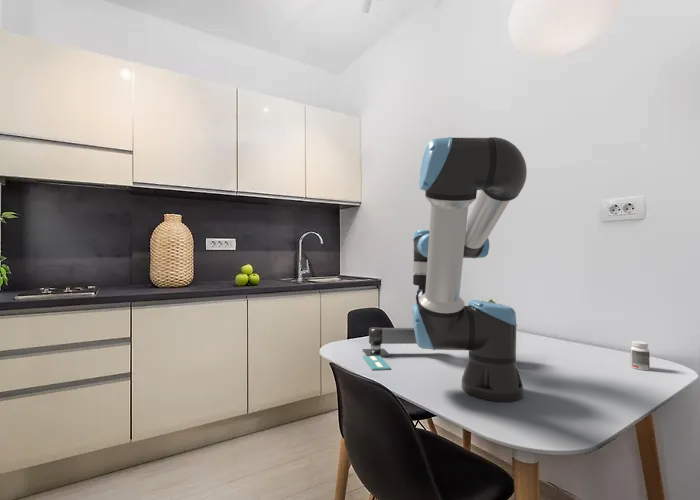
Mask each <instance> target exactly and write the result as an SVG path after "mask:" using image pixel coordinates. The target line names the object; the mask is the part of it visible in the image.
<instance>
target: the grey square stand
mask: <svg viewBox="0 0 700 500" xmlns="http://www.w3.org/2000/svg"><path fill="white" fill-rule="evenodd" d="M362 352H364V353H365V354H364V353H363V354H364V356H381V357H382V358H388V357H389V358H391V355H390V353H389V352H388V351H387V350H386V349H385V348H382V344H378V345H376V344H370V348H362Z"/></svg>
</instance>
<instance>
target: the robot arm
mask: <svg viewBox="0 0 700 500" xmlns="http://www.w3.org/2000/svg"><path fill="white" fill-rule="evenodd" d="M419 170H420V171H419V182H418V184H419V185H418V186H419V189H420V190H422V191H424V192H425V195H424V198H425V199H427V201H428V202H429V203H430V218H429V229H418V230H414V232H413V239H412V240H413V262H412V263H413V265H412V266H413V267H412V270H413V272H412V273H414V274H413V276H412V284H413V285H414V286H418V289H417V290H416V295H415V301H416V303H415V304H413V305H412V310H411V311H412V312H411V313H412V321H413V328H414V331H415V337H416V342H417V346H418V347H419V348H421V349H422V350H432V351H437V350H438V351H441V350H442V351H468V360H467V363H466V365H465V368H464V371H463V374H462V375H461V389H462V390H463V391H464V392H465V393H467V394H468V395H471V396H472V397H476V398H479V399H482V400H486V401H494V402H502V403H503V402H507V403H508V402H514V401H518V400H520V399H522V398H523V397H524V384H523V382H522V378H521V376H520V373H519V370H518V367H517V327H518V324H517V313H516V311H515V309H514V308H512V307H511V306H509V305H505V304H502V303H498V302H497V303H496V302H491V301H485V300H477V299H476V300H475V299H470V300H469V301H468V305H466V304H465V301H464V300H463V298H461V296H460V295H461V286H462V285H461V282H462V275H463V274H462V272H463V263H464V262H463V261H464V259H478V258H479V259H480V258H481V259H483V258H485V257H487V256H488V254H489V251H490V240H489V237H490V234H492V231H493V230H494V228H495V226H496V225H497V223H498V222H499V220H500V218H501V217H502V214H503V213H504V211H505V210H506V208H507V206H508V205H509V203H510V201H514V199H516V198H518V196H519V195H520V193H521V191H522V190H523V188H524V186H525V184H526V180H527V171H528V169H527V162H526V160H525V157H524V156H523V153H522V152H521V150H520V149H519V148H518V147H517V146H516V145H515V144H513V143H512V142H511V141H510V140H507V139H505V138H502V137H497V136H496V137H493V136H492V137H451V136H448V137H440V138H439V137H437V138H433V139H431V140H430V141H428V143H427V144H426V147H425V149H424V151H423V156H422V159H421V164H420V169H419ZM478 191H480V192H479V193H477V192H478ZM477 194H478V196H477ZM474 201H475V202H474ZM473 202H474V205H473V206H472V209H471V211H470V214H469V213H468V212H469V206H470V205H471V204H473ZM468 214H469V216H468Z"/></svg>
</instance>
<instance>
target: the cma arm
mask: <svg viewBox="0 0 700 500" xmlns="http://www.w3.org/2000/svg"><path fill="white" fill-rule="evenodd" d="M368 343H369V344H370V345H371V344H376V345H378V344H381V345H387V344H388V345H392V344H394V345H396V344H397V345H402V344H406V345H407V344H410V345H412V344H413V345H415V344H417V342H416V337H415V331H414V327H375V326H374V327H373V326H372V327H369V328H368Z"/></svg>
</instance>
